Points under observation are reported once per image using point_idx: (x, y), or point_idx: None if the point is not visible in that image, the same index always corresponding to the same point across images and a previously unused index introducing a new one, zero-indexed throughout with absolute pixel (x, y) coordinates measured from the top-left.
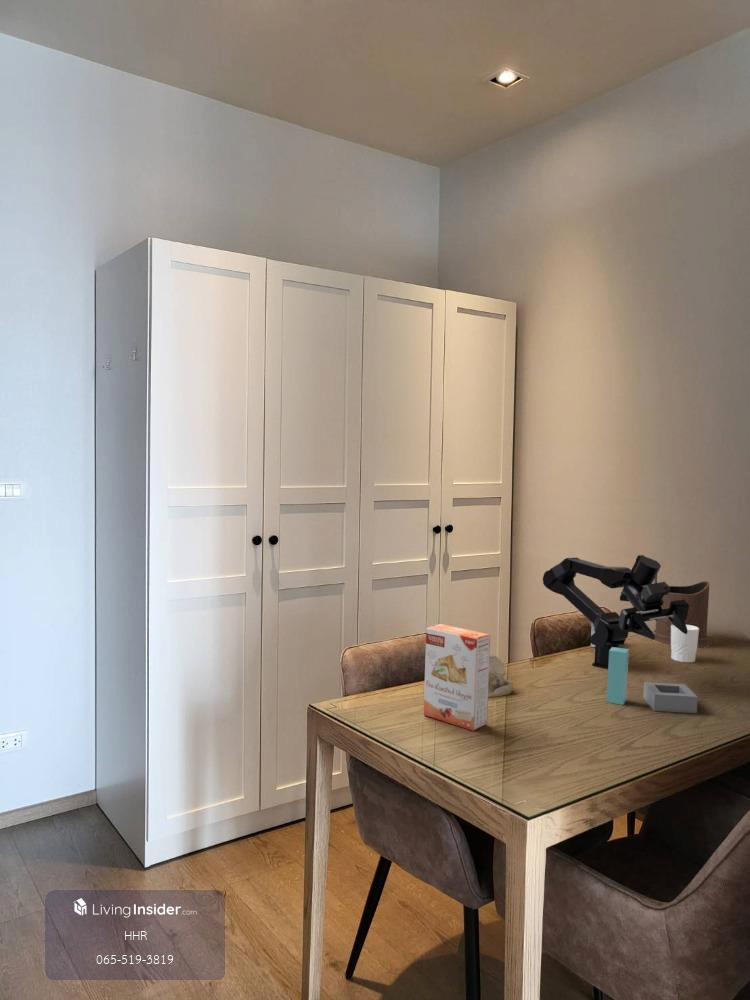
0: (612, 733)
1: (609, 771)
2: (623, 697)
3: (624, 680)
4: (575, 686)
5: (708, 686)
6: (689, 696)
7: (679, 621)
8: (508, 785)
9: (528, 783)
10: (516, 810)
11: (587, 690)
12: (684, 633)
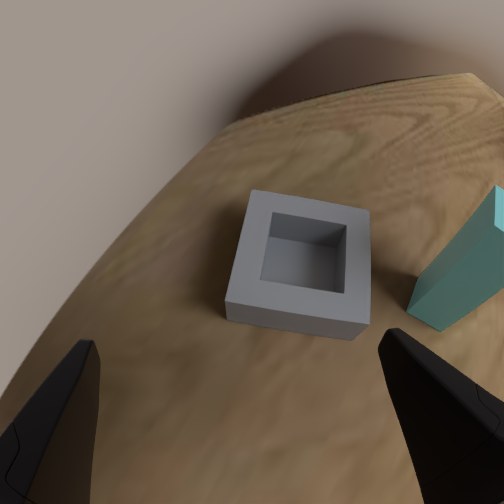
0: (440, 152)
1: (434, 89)
2: (427, 267)
3: (450, 241)
4: None
5: None
6: (274, 193)
7: (56, 465)
8: (495, 98)
9: (485, 96)
10: (479, 78)
11: None
12: (98, 379)
